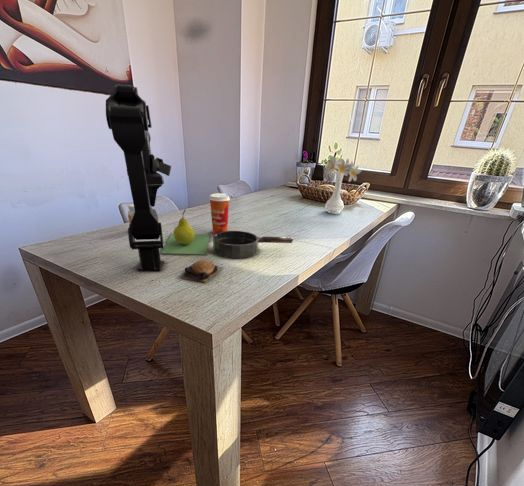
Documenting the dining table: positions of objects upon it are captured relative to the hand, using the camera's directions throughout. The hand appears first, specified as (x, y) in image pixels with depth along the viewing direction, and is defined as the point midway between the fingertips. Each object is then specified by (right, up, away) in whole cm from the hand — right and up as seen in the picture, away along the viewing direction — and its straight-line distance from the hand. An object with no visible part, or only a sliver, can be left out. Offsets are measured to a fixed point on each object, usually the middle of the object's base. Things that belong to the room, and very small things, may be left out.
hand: (148, 203), depth 102 cm
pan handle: (+42, -12, +3) cm, 44 cm away
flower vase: (+75, +16, +56) cm, 95 cm away
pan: (+29, -15, +4) cm, 32 cm away
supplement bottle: (-9, -5, +16) cm, 19 cm away
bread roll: (+20, -25, -13) cm, 35 cm away
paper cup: (+21, -5, +19) cm, 29 cm away
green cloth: (+11, -12, +7) cm, 18 cm away
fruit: (+11, -12, +5) cm, 17 cm away
